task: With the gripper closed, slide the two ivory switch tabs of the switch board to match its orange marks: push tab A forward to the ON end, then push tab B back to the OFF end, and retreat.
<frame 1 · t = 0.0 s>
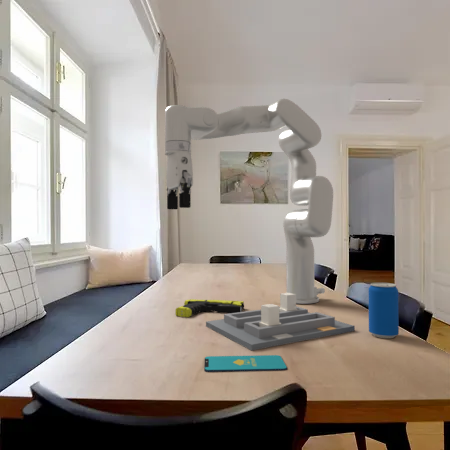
hand: (178, 208, 109), 31 cm above the table, fingers open, 9 cm apart
tab b: (270, 318, 87), point 4 cm above the table, slide at 13.0 cm
tab a: (287, 304, 102), point 4 cm above the table, slide at 0.0 cm
smartphone: (244, 367, 70), on the table
stun gun: (210, 314, 113), on the table
beverage can: (383, 336, 88), on the table
switch board: (278, 328, 94), on the table
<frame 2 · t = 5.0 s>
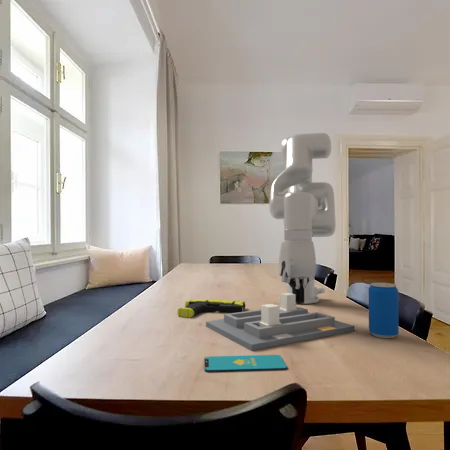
hand: (298, 302, 104), 5 cm above the table, fingers closed
tab a: (287, 304, 102), point 4 cm above the table, slide at 0.1 cm, touching gripper
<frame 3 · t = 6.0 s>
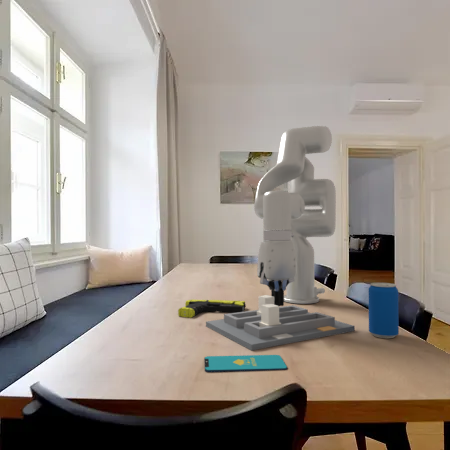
hand: (277, 305, 100), 5 cm above the table, fingers closed
tab a: (266, 307, 99), point 4 cm above the table, slide at 7.2 cm, touching gripper
everything else where it was.
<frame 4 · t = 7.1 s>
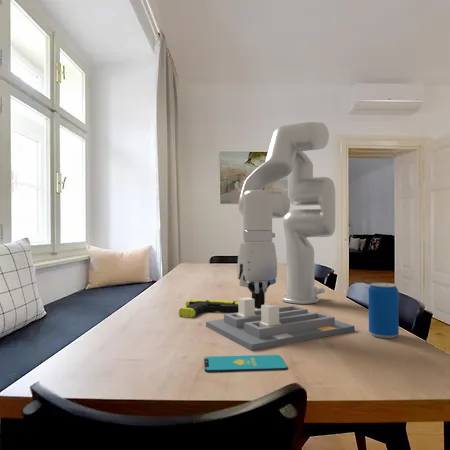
hand: (258, 307, 98), 5 cm above the table, fingers closed
tab a: (246, 309, 96), point 4 cm above the table, slide at 13.3 cm, touching gripper
everything else where it was.
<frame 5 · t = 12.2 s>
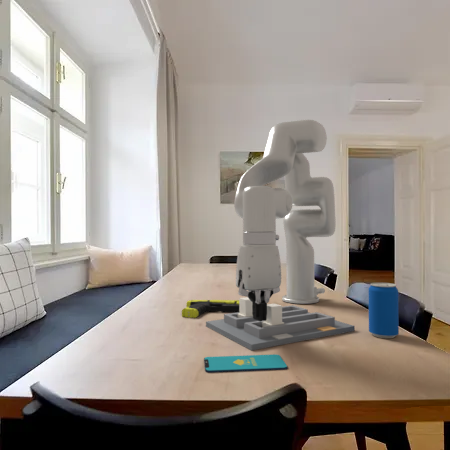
hand: (259, 319, 86), 4 cm above the table, fingers closed
tab b: (273, 317, 88), point 4 cm above the table, slide at 12.2 cm, touching gripper
tab a: (247, 309, 96), point 4 cm above the table, slide at 13.0 cm
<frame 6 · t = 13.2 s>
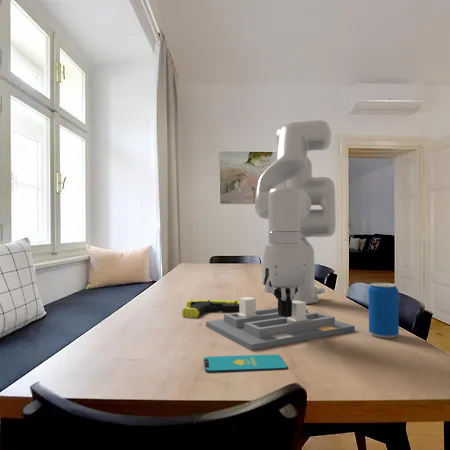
hand: (284, 315, 89), 4 cm above the table, fingers closed
tab b: (297, 314, 91), point 4 cm above the table, slide at 4.9 cm, touching gripper
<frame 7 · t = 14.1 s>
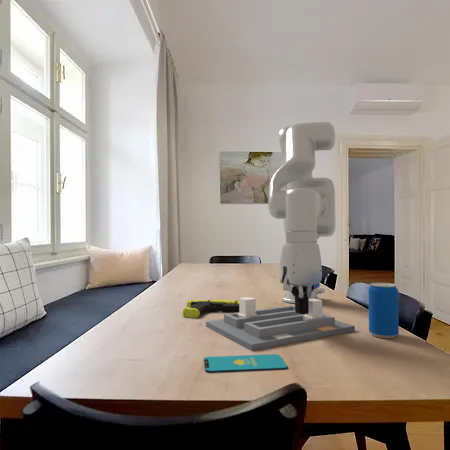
hand: (301, 313, 92), 4 cm above the table, fingers closed
tab b: (313, 311, 94), point 4 cm above the table, slide at -0.2 cm, touching gripper
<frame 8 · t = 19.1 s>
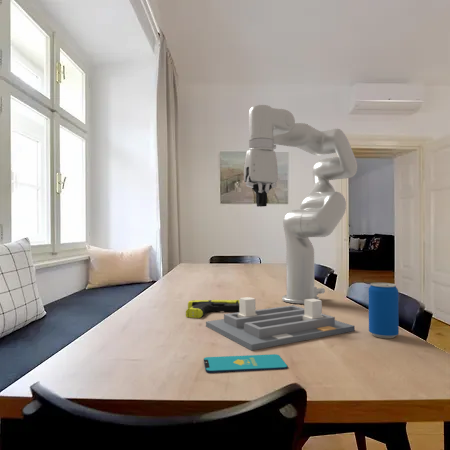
hand: (261, 206, 115), 32 cm above the table, fingers closed
tab b: (313, 311, 93), point 4 cm above the table, slide at 0.0 cm
at the end: tab a slide at 13.0 cm; tab b slide at 0.0 cm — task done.
